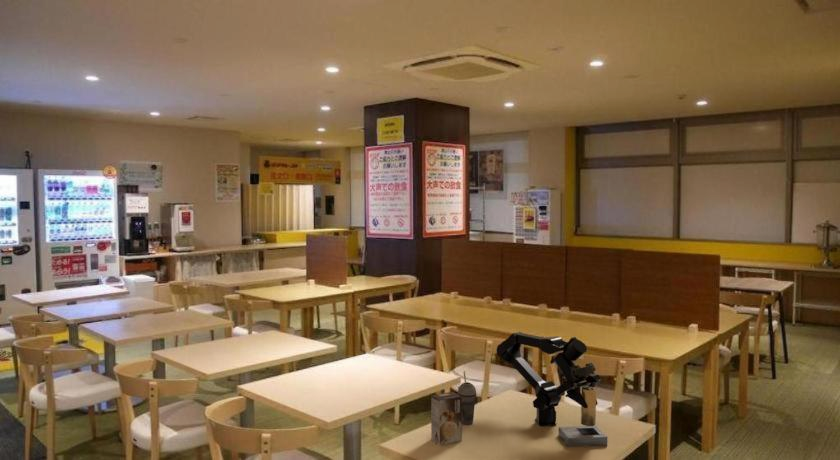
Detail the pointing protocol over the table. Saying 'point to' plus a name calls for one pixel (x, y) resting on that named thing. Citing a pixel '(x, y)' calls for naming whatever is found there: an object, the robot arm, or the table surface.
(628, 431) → the table surface
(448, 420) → the coffee box
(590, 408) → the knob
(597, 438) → the frame
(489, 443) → the table surface
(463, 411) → the beverage cup
